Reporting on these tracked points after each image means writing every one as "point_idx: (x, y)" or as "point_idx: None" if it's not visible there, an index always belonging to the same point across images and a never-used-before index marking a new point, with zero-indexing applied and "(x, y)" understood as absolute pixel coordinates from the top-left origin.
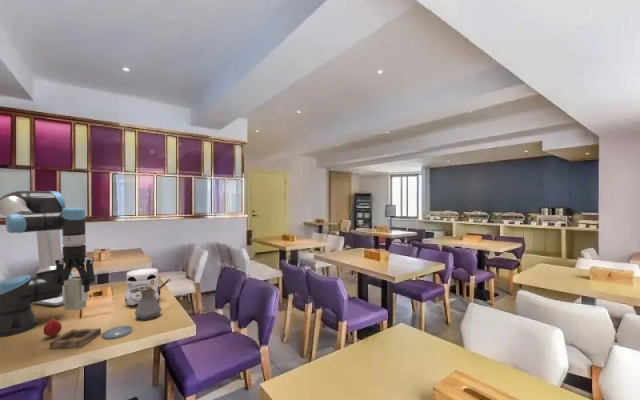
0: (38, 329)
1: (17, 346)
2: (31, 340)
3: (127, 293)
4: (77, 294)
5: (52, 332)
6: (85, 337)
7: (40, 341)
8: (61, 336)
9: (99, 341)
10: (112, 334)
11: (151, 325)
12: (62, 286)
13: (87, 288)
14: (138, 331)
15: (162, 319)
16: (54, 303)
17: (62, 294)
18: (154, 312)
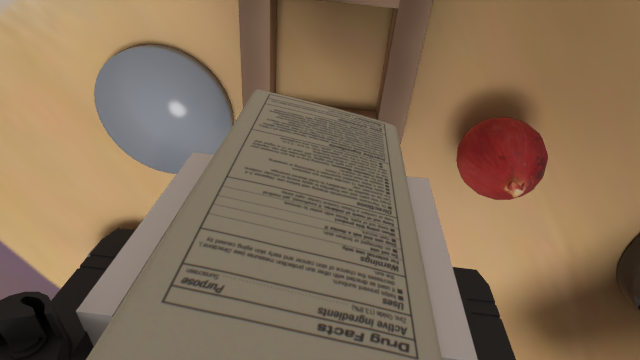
0: (592, 233)
1: (635, 51)
2: (583, 116)
3: None
4: (201, 180)
5: (484, 123)
6: (250, 19)
7: (529, 93)
8: (409, 65)
9: (197, 26)
10: (159, 78)
11: (65, 170)
12: (471, 348)
13: (80, 272)
14: (76, 114)
15: (65, 221)
16: None
17: (443, 236)
18: (89, 254)
